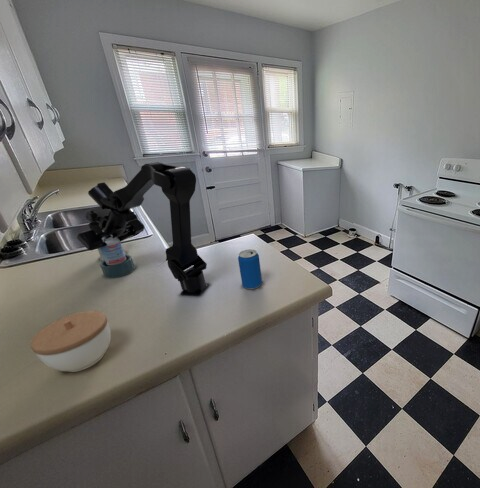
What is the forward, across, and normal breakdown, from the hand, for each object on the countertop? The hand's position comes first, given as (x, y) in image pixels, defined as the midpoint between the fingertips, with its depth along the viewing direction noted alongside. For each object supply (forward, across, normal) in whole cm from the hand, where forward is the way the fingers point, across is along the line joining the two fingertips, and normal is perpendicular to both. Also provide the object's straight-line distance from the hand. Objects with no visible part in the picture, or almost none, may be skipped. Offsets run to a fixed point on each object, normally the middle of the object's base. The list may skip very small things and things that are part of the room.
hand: (108, 245), depth 97 cm
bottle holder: (+7, 0, +8) cm, 11 cm away
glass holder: (+16, -7, -1) cm, 17 cm away
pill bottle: (+4, 0, +6) cm, 7 cm away
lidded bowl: (-17, +31, +33) cm, 48 cm away
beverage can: (-30, -9, +46) cm, 56 cm away
